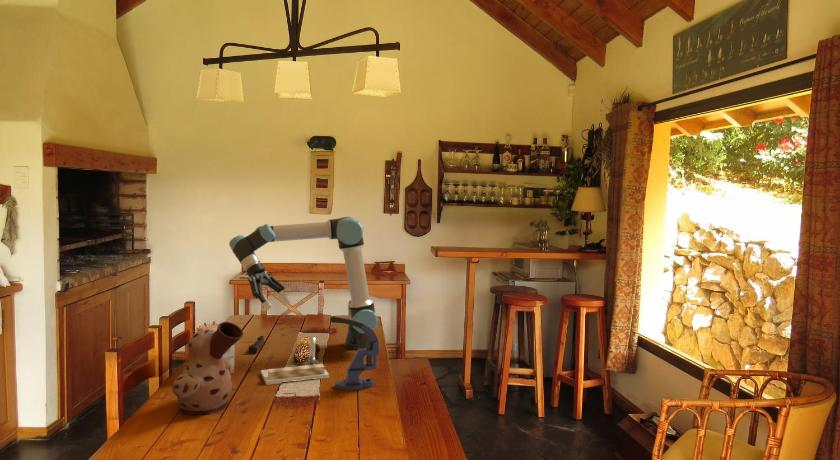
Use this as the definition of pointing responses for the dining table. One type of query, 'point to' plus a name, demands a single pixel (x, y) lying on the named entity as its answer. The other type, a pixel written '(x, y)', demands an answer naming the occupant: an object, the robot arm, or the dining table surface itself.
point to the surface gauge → (311, 353)
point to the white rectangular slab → (278, 381)
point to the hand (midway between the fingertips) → (278, 306)
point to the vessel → (207, 371)
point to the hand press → (359, 359)
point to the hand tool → (256, 345)
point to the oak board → (296, 371)
